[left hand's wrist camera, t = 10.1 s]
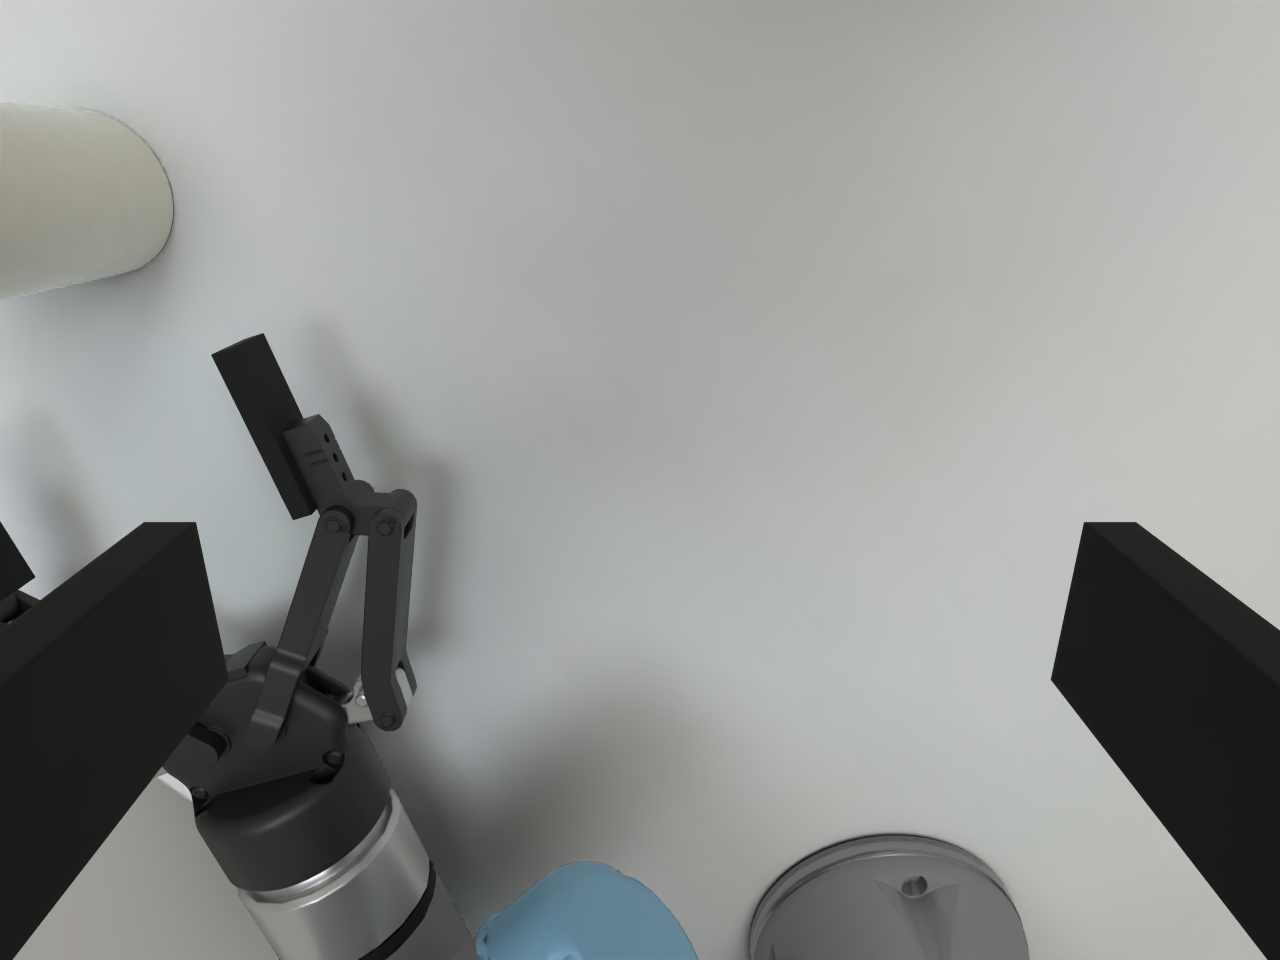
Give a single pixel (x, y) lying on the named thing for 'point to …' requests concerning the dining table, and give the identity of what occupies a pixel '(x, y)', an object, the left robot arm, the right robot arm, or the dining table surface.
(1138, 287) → the dining table surface
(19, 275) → the bottle
